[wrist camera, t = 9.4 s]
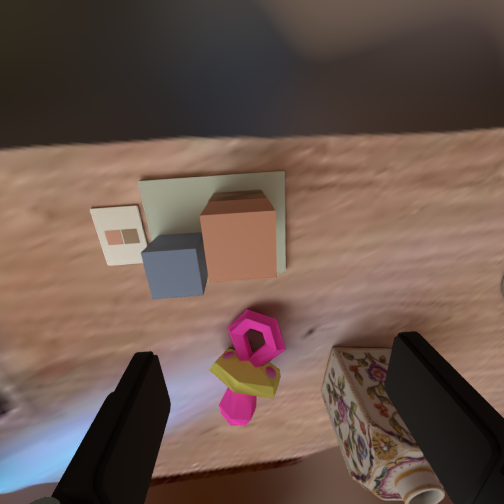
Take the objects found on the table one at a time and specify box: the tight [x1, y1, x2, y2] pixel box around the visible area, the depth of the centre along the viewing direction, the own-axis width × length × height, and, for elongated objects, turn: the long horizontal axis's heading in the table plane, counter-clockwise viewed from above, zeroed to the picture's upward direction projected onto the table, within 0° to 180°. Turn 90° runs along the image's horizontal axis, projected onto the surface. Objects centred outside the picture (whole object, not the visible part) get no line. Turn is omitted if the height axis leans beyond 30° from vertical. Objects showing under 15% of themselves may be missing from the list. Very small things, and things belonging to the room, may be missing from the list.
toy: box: [210, 309, 286, 426], centre depth 37 cm, size 10×18×10 cm, turn 164°
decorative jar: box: [321, 347, 445, 504], centre depth 36 cm, size 12×12×18 cm
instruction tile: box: [90, 205, 148, 266], centre depth 32 cm, size 6×8×1 cm
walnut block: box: [208, 190, 266, 202], centre depth 28 cm, size 6×6×6 cm
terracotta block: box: [200, 198, 277, 282], centre depth 22 cm, size 6×6×6 cm
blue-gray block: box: [141, 232, 208, 299], centre depth 30 cm, size 6×6×6 cm
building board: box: [137, 171, 286, 273], centre depth 32 cm, size 18×14×1 cm
